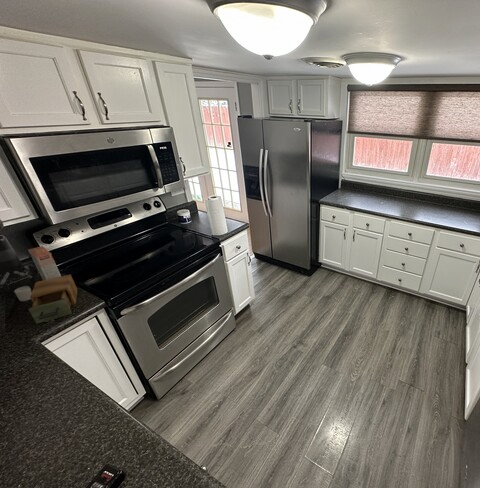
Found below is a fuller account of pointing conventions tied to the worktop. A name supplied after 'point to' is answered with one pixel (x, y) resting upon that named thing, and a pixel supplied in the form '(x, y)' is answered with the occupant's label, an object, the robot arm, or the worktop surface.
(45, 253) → the cracker box
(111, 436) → the worktop surface
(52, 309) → the drawer
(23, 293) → the grey cylinder
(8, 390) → the worktop surface
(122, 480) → the worktop surface
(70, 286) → the cabinet
